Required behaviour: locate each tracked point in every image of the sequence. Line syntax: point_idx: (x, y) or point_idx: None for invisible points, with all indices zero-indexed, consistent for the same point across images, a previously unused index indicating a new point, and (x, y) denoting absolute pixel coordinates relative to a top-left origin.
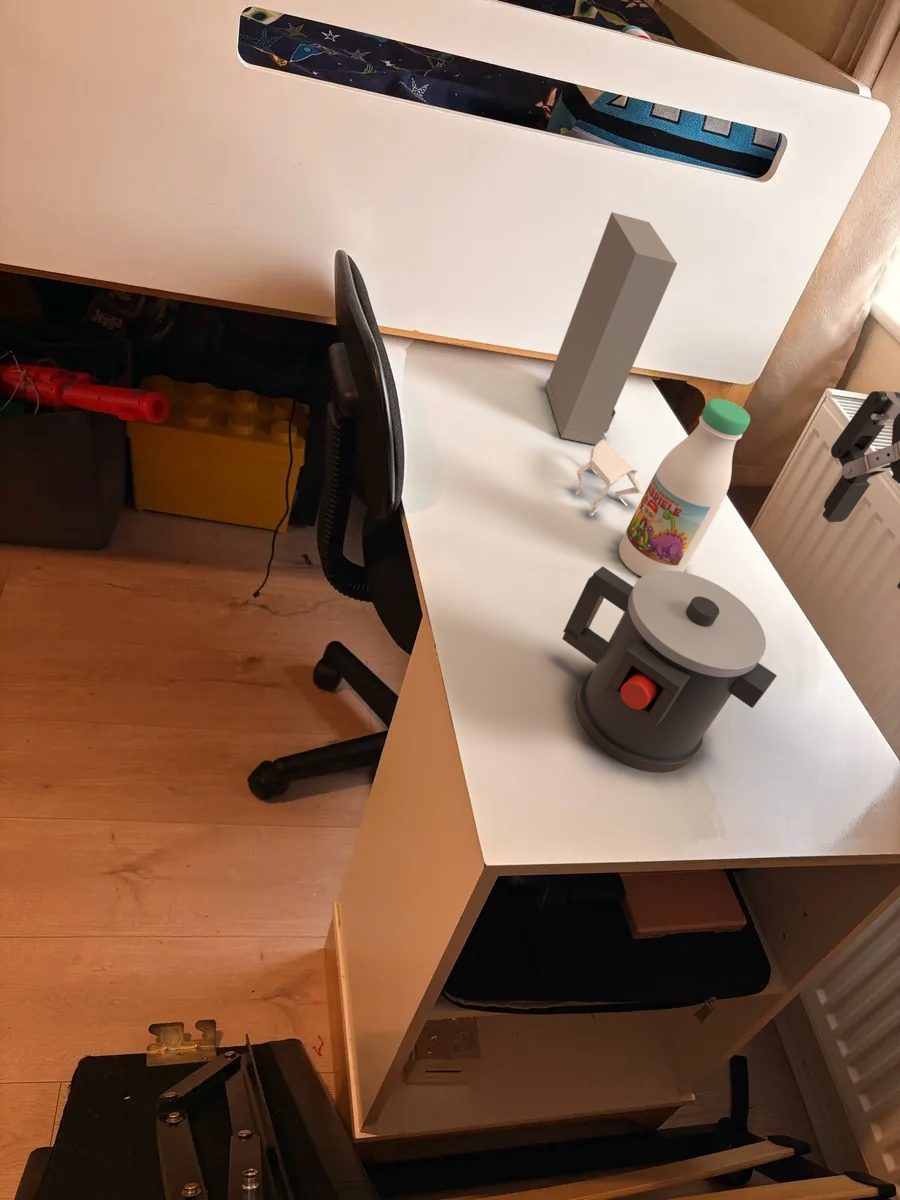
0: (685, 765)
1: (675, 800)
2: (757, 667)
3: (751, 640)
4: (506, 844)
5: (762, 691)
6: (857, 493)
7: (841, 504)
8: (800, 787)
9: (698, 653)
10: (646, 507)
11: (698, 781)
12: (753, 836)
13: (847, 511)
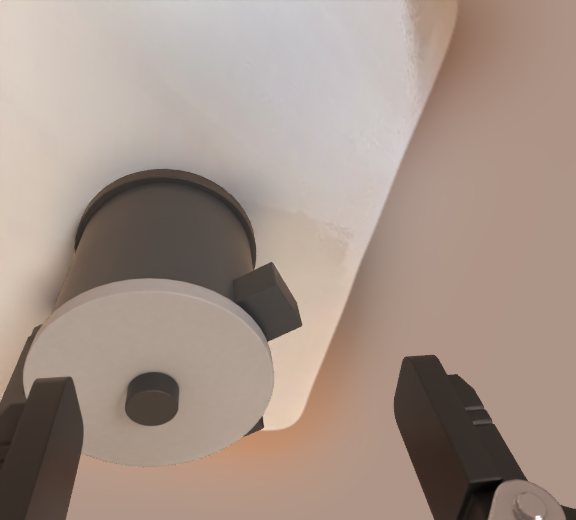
0: (251, 226)
1: (291, 263)
2: (254, 308)
3: (219, 334)
4: (285, 420)
5: (299, 326)
6: (46, 505)
7: (68, 488)
8: (329, 70)
9: (233, 425)
10: None
11: (276, 221)
12: (364, 198)
13: (63, 418)
